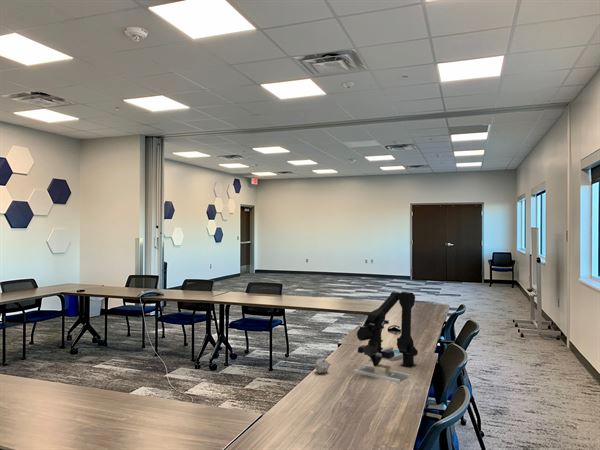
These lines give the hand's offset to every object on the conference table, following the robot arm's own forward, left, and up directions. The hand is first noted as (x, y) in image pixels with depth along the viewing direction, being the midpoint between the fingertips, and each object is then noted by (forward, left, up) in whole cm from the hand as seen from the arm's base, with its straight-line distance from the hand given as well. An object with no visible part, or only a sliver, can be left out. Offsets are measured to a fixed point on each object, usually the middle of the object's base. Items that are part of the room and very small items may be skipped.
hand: (375, 368), depth 220 cm
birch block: (0, +4, -2) cm, 5 cm away
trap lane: (0, +3, -3) cm, 4 cm away
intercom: (-28, -10, -3) cm, 30 cm away
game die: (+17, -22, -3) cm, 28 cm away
